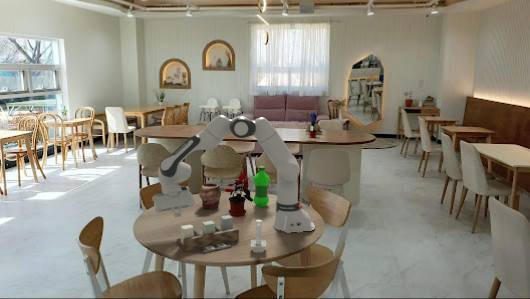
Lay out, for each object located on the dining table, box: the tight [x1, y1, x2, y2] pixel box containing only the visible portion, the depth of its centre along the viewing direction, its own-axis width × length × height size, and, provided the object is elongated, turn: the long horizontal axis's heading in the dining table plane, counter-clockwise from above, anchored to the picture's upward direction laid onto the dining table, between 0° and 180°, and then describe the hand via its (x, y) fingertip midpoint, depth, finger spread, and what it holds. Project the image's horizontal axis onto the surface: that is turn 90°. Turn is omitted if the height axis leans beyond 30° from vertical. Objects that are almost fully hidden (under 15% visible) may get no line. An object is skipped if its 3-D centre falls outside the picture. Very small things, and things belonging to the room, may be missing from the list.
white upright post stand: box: [250, 219, 267, 254], centre depth 186 cm, size 7×9×15 cm
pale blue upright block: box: [220, 214, 234, 231], centre depth 204 cm, size 5×4×8 cm
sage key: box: [201, 220, 216, 235], centre depth 196 cm, size 5×4×8 cm
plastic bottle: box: [253, 165, 271, 208], centre depth 248 cm, size 10×10×25 cm
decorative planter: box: [198, 182, 222, 210], centre depth 247 cm, size 20×12×14 cm, turn 162°
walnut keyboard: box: [176, 225, 240, 254], centre depth 194 cm, size 28×18×6 cm, turn 120°
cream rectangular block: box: [180, 224, 195, 244], centre depth 190 cm, size 5×4×8 cm
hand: (178, 216), depth 200 cm, fingers closed
